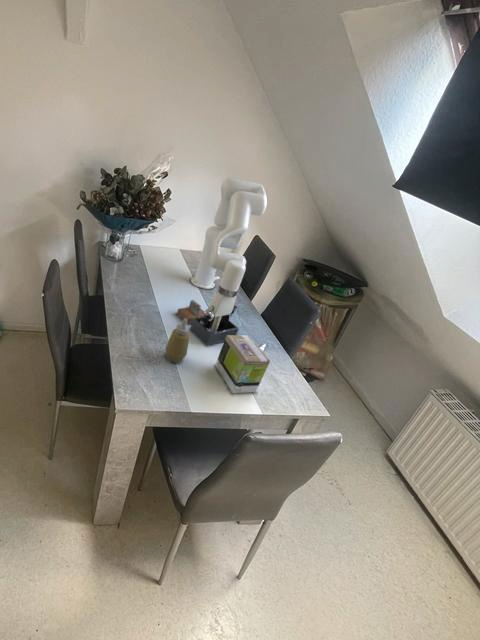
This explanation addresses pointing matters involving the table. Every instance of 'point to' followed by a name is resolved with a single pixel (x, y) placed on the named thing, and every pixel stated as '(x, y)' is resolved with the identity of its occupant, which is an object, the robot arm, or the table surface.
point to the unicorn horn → (262, 347)
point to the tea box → (241, 363)
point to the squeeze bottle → (178, 343)
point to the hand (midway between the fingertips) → (215, 325)
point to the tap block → (189, 314)
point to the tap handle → (194, 307)
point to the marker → (215, 324)
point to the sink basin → (205, 334)
